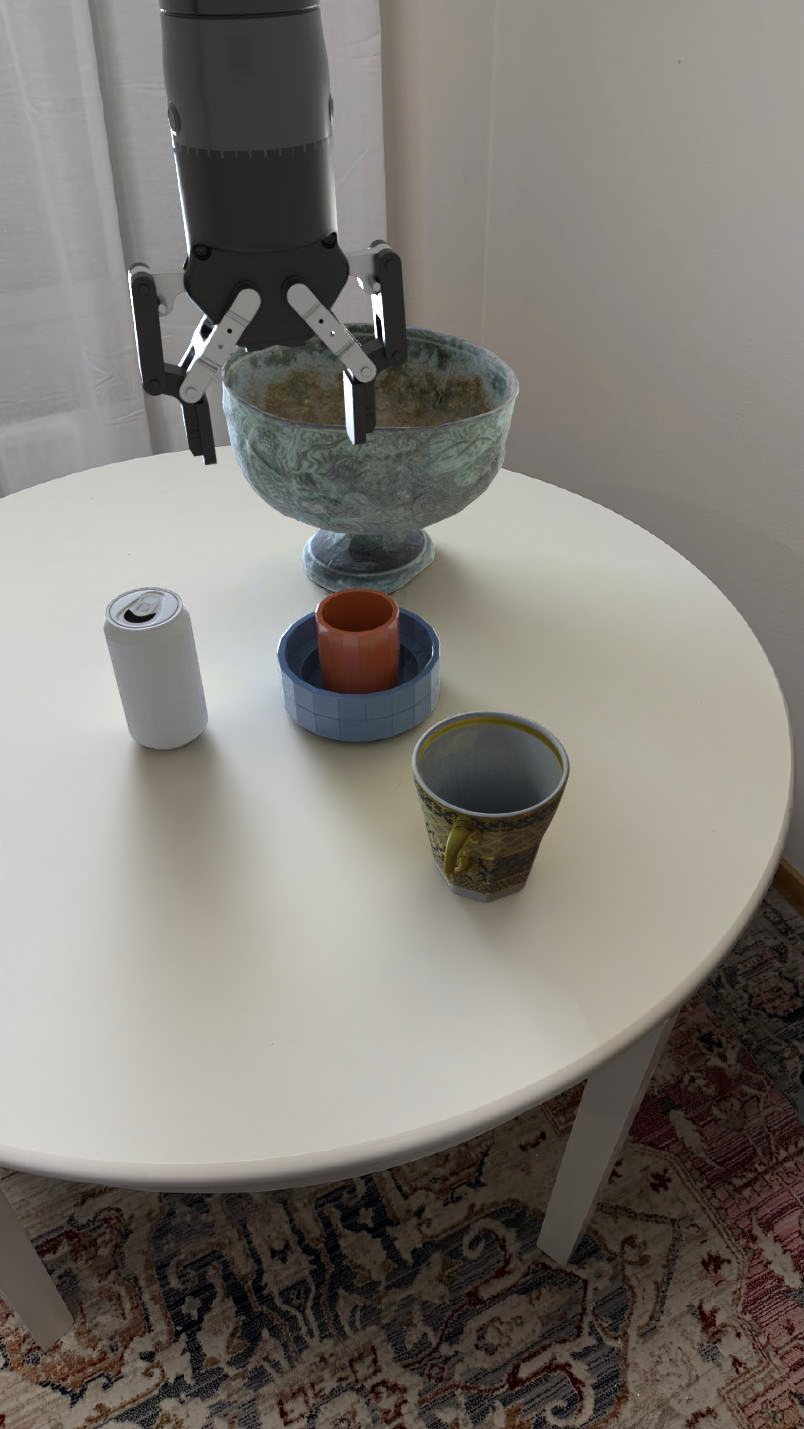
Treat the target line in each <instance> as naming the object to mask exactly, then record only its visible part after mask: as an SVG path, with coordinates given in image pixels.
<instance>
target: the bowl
mask: <svg viewBox="0 0 804 1429" xmlns="http://www.w3.org/2000/svg"><path fill="white" fill-rule="evenodd" d="M398 608H399V634H400V685H399V686H397V687H395V688H392V689H390V690H386V691H380V692H375V693H369V694H339V693H335V692H331V691H326V690H322V685H321V673H320V662H319V650H318V638H317V626H316V615H315V613H316V610H313V611H311V612H308V613H307V614H305V615H304V616H302V617H300V618H299V619H298V620H296V621H295V622H293V623H291V624H290V626H288V628H287V629H286V631H285V632H284V633H283V634H282V635H281V637H280V639H279V642H278V646H277V650H276V661H277V669H278V676H279V677H278V679H279V685H280V687H279V688H280V694H281V698H282V699H281V700H282V702H283V706H284V709H285V712H286V713H287V714H288V715H289V716H290V717H291V718H292V719H293V720H294V722H295V723H296V724H297V725H299V726H300V727H302V728H304V729H305V730H307V731H309V732H311V733H313V734H315V735H317V736H320V737H323V738H328V739H331V740H332V739H333V740H336V741H339V742H372V741H377V740H382V739H388V738H393V737H395V736H397V735H400V734H402V733H404V732H406V731H409V730H411V729H413V728H415V727H416V726H418V725H419V724H421V722H423V721H424V720H425V719H426V718H427V717H428V716H430V715H431V714H432V712H433V710H434V708H435V707H436V705H437V703H438V702H439V700H440V688H441V687H440V686H441V685H440V684H441V640H440V638H439V636H438V635H437V634H438V633H436V630H435V629H434V626H432V625H431V624H430V623H429V622H428V621H426V620H425V619H424V617H422V616H420V615H419V614H417V613H415V612H413V611H410V610H408V609H406V608H404V607H401V606H398Z"/></svg>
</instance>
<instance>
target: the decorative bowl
mask: <svg viewBox="0 0 804 1429" xmlns="http://www.w3.org/2000/svg"><path fill="white" fill-rule="evenodd" d="M343 324H344V326H345V327H346V328H347V329H348V331H349V332H350V333H351V334H352V335H353V336H354V338H355V339H356V340H357V341H358V342H359V344H360V345H361V346H362V345H364V344H366V343H368V342H370V341H372V340H374V339H376V337H375V326H374V322H347V323H346V322H345V323H344V322H343ZM406 335H407V349H408V358H407V361H406V362H405V363H404V364H403V365H402V366H400V367H393V366H391V367H389V368H387V369H385V370H383V371H381V372H380V373H379V374H378V375H377V377H376V380H375V408H376V426H375V429H374V431H373V433H368V434H366V444H360V445H353V444H352V442H351V440H350V438H349V436H348V433H347V428H346V413H345V394H344V375H343V370H348V368H347V367H346V366H345V365H344V363H343V362H342V361H341V360H340V359H339V358H338V357H337V356H336V355H335V354H334V353H333V352H332V351H331V350H330V349H329V347H328V346H327V345H326V344H325V343H324V342H323V341H322V339H321V338H320V337H319V336H318V335H317V334H316V335H315V336H314V337H312V338H311V339H310V340H308V341H306V342H305V346H298V347H286V346H280V345H274V346H272V347H269V348H267V349H264V350H261V351H253V352H247V351H246V349H245V348H241V347H238V348H237V349H236V350H235V351H232V352H231V353H230V355H229V357H228V358H227V360H226V362H225V363H224V365H223V367H222V368H221V380H222V382H221V383H222V391H223V392H222V402H221V403H222V408H223V409H222V410H223V413H224V416H225V420H226V425H227V431H228V436H229V441H230V445H231V449H232V452H233V454H234V457H235V458H234V459H235V461H236V465H237V466H238V468H239V470H240V472H241V473H242V477H243V478H244V479H245V480H246V482H247V483H248V484H249V486H250V488H251V489H252V491H254V493H255V494H256V495H258V496H259V497H260V499H262V500H263V501H264V502H265V503H266V504H267V505H269V507H271V508H272V509H274V510H276V511H277V512H278V513H280V514H282V516H284V517H287V518H290V519H294V520H296V521H297V522H301V523H303V524H305V525H308V526H311V527H314V528H317V529H318V530H317V531H316V532H315V533H314V534H313V535H311V536H310V537H308V539H307V541H306V542H305V545H304V546H303V548H302V558H301V560H302V565H303V566H302V567H303V570H304V573H305V574H306V575H307V577H308V578H309V579H310V580H311V581H313V582H314V583H316V584H317V585H319V586H320V587H323V588H324V589H326V590H329V591H330V592H334V593H336V592H338V591H341V590H347V589H353V588H363V589H373V590H376V591H380V592H383V593H385V594H389V593H393V592H396V591H398V590H400V589H401V588H402V587H404V586H405V585H406V584H408V583H410V581H412V580H413V579H415V577H416V576H418V575H419V574H420V573H422V572H423V571H424V570H425V569H427V568H428V567H429V566H430V565H431V564H432V563H434V559H435V545H434V542H433V540H432V537H431V535H430V534H429V533H428V532H427V530H426V529H425V528H427V527H429V526H432V525H434V524H437V523H440V522H442V521H444V520H446V519H448V518H451V517H453V516H456V515H457V514H459V513H461V512H462V511H463V510H464V509H466V508H467V507H468V506H470V505H471V504H472V503H473V502H475V501H476V500H477V499H478V498H479V497H481V496H482V495H483V494H484V493H485V492H486V491H487V490H488V489H489V487H490V486H491V484H492V483H493V481H494V479H495V478H496V477H497V475H498V474H499V472H500V470H501V468H502V466H503V465H504V462H505V457H506V451H507V448H506V442H507V439H508V435H509V431H510V428H511V425H512V418H513V413H514V410H515V409H514V408H515V404H516V399H517V397H518V395H519V394H520V384H519V379H518V376H517V374H516V373H515V371H514V370H513V369H512V367H511V366H510V365H508V363H507V362H506V361H504V360H503V359H502V358H500V357H499V355H497V354H496V353H494V352H492V351H491V350H489V349H487V348H485V347H484V346H481V345H479V344H476V343H474V342H471V341H470V340H466V339H463V338H461V337H458V336H454V335H453V334H448V333H444V332H440V331H436V330H432V329H429V328H426V327H418V326H409V325H406Z"/></svg>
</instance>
